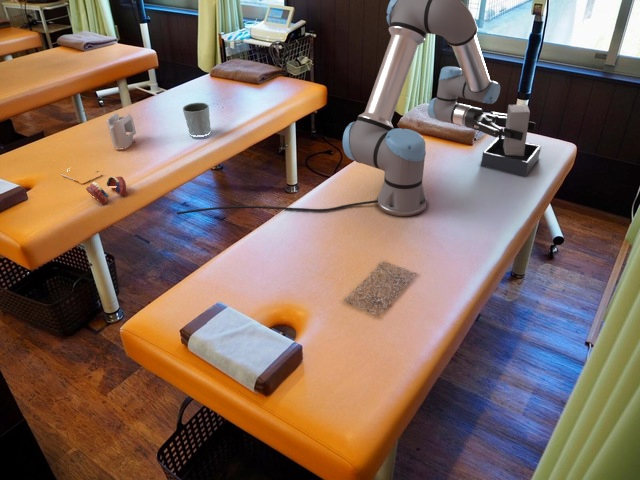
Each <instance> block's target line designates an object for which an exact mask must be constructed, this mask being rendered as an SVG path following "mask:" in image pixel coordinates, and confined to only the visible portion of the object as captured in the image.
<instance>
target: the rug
mask: <svg viewBox="0 0 640 480" xmlns="http://www.w3.org/2000/svg"><path fill="white" fill-rule="evenodd" d="M381 270H382V271H381ZM376 274H377V276H376ZM416 275H417V272H415V271H410V270H408V269H406V268H404V267H402V266H398V265H396V264H391V263H389V262H387V261H386V260H383V262H382V263H380V265H378V266H377V267H376V268H375V269H374V271H371V273H369V276H368V279H364V280H363V283H360V284H359V285H358V286H356V288H355V290H352V293H350V294H349V295H348V297H347V298H346V299H345V300H344V302H346V303H347V304H349V303H352V306H355V307H358V308H359V309H362V310H365V311H367V312H371V314H372V315H376V316H378V317H379V316H380V315H381V314H382V313H383V312H384V311H385V310H386V308H388V305H390V304H391V303H392V302H393V300H394V299H395V298H397V297H398V296H399V294H400V293H401V292H402V291H403V289H404V288H405V287H406V286H407V285H409V282H410V281H412V279H413V276H416ZM409 279H410V280H409ZM362 289H363V290H362ZM353 293H356V294H354V295H353ZM387 293H388V294H387ZM386 297H387V298H386ZM355 299H356V300H355Z"/></svg>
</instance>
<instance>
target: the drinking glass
mask: <svg viewBox="0 0 640 480" xmlns="http://www.w3.org/2000/svg"><path fill="white" fill-rule="evenodd" d="M182 111H183V115H184V118H185V121H186V126H187V128H188V133H189V137H190V138H191V137H192V138H191V139H193V140H204V139H205V140H206V139H208V138H209V137H211V135H212V129H211V119H210V106H209V104H208V103H206V102H192V103H189V104H186V105H184V106H183V107H182ZM210 131H211V133H210V134H209V135H207V136H204V137H193V136H191V135H196V136H197V135H205V134H208V133H209V132H210ZM190 134H191V135H190Z"/></svg>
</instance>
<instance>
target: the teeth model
mask: <svg viewBox="0 0 640 480" xmlns="http://www.w3.org/2000/svg"><path fill="white" fill-rule="evenodd" d="M106 186H107V187H109V186H117V187H116V188H113V189H112V190H113V191H115V193H116V194H117V195H120V196H121V197H122V196H127V183H126V180H125V179H124V177H123V176H110V177H108V179H107V181H106ZM85 190H86V191H87V193H88V194H89V193H90V194H91V195H92V196H94V197H95V198H96V199H95V198H94V199H95V200H96V201H97V202H99V203H100V204H102V205H105V204H106V203H107V201H108V197H109V194H108V193H107V192H105V190H104V189H103V187H102V186H100V184H99V183H98V182H96V181H93V182H92V183H90V185H89V186H87V187H86V188H85ZM90 194H89V195H90ZM91 195H90V196H91ZM92 196H91V197H92ZM97 199H98V200H99V201H98V200H97Z"/></svg>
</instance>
